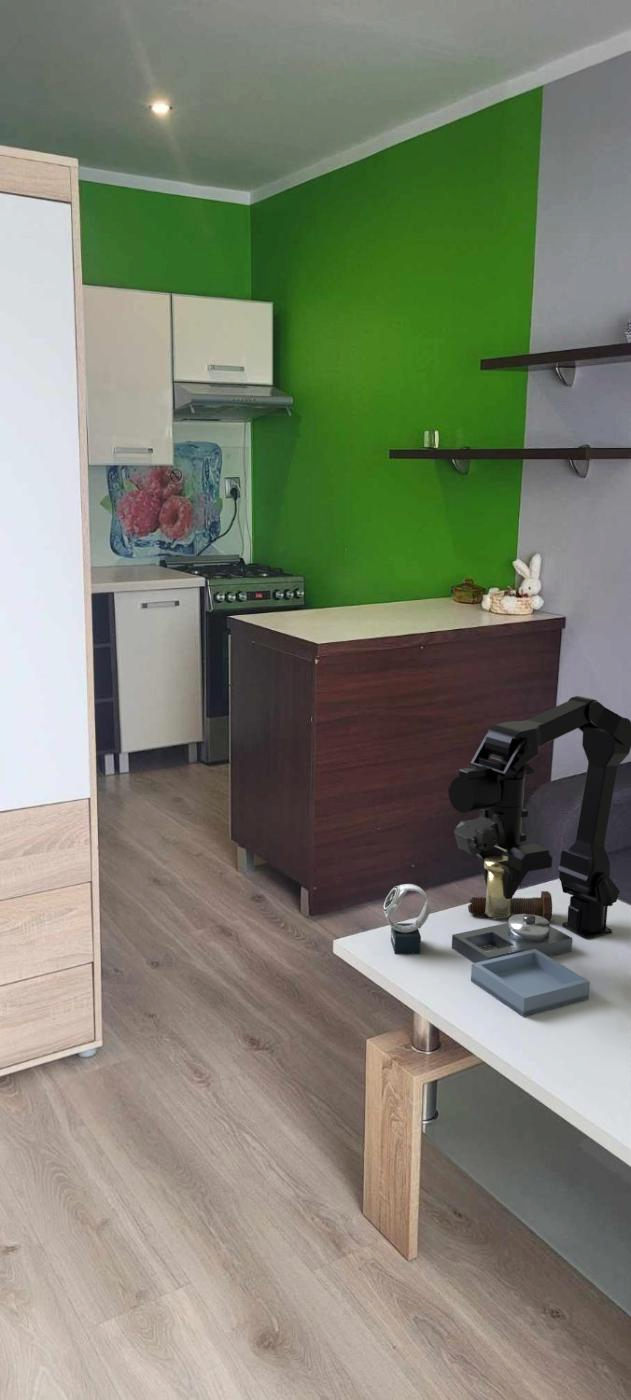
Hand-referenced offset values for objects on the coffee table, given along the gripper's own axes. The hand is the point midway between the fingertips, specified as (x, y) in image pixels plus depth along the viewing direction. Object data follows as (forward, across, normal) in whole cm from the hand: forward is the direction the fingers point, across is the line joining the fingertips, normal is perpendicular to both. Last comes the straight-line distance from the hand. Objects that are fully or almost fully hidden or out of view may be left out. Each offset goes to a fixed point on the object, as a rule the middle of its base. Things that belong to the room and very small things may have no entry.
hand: (499, 893), depth 176 cm
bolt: (+12, -15, +14) cm, 24 cm away
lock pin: (+4, 0, 0) cm, 4 cm away
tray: (+12, +11, -1) cm, 16 cm away
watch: (+12, -11, -11) cm, 20 cm away
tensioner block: (+12, -2, +6) cm, 14 cm away
